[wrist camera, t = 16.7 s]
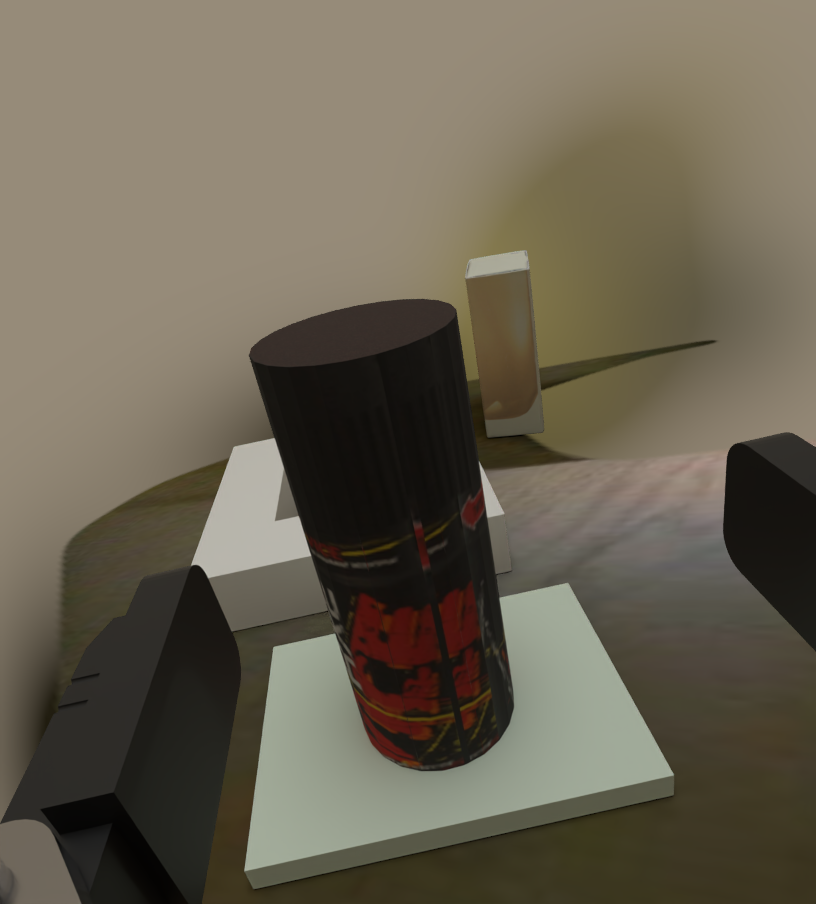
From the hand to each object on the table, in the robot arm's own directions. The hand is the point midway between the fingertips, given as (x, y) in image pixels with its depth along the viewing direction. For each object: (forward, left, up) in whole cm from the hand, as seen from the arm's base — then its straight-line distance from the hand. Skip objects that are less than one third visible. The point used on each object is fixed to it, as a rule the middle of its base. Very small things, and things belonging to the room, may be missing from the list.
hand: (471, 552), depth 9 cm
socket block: (+4, -26, -15) cm, 30 cm away
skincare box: (-9, -36, -15) cm, 40 cm away
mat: (+1, -10, -15) cm, 18 cm away
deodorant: (+1, -10, -14) cm, 17 cm away
